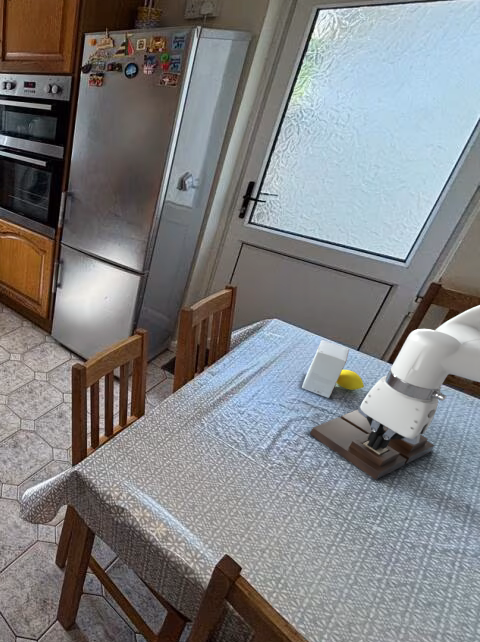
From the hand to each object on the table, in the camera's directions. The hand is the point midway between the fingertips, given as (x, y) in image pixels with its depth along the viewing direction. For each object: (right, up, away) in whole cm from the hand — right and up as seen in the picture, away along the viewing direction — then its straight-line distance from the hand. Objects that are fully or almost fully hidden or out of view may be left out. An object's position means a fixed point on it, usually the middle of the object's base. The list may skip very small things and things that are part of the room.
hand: (375, 446), depth 95 cm
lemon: (+15, +7, +24) cm, 29 cm away
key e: (0, -2, +1) cm, 2 cm away
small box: (+7, +7, +24) cm, 26 cm away
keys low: (+9, -1, +8) cm, 12 cm away
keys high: (-1, -3, +4) cm, 5 cm away
